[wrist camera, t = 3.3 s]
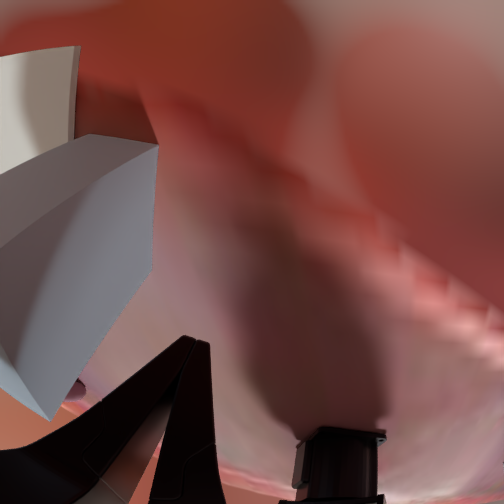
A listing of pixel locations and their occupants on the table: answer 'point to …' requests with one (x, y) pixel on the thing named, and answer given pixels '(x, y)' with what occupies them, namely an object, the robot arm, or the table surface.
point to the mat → (36, 103)
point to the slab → (70, 259)
